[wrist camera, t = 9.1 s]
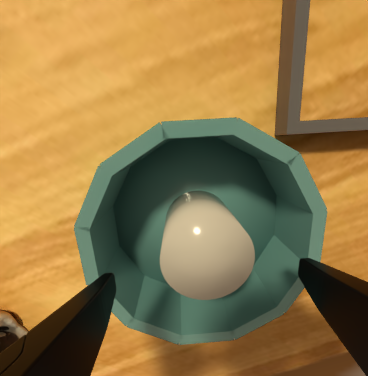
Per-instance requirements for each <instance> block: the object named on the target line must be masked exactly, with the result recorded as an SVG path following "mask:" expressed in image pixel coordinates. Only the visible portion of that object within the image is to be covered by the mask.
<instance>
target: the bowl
mask: <svg viewBox="0 0 368 376" xmlns="http://www.w3.org/2000/svg"><path fill="white" fill-rule="evenodd" d="M161 123H162V125H161V124H160V122H159V123H158V124H156V125H155V126H154V127H152V128H151V129H149V130H148V131H146V132H145V133H144V134H142V135H141V136H139V137H138V138H136V139H135V140H134V141H132V142H131V143H129V144H128V145H127V146H125V147H124V148H122V149H121V150H119V151H118V152H117V153H115V154H114V155H112V156H111V157H109V158H108V159H107V160H105V161H104V162H102V163H101V164H100V166H98V168H97V170H96V173H95V175H94V178H93V180H92V183H91V185H90V188H89V190H88V193H87V195H86V198H85V200H84V203H83V205H82V208H81V210H80V213H79V215H78V218H77V220H76V223H75V225H74V227H75V228H74V231H75V235H76V240H77V244H78V249H79V253H80V258H81V263H82V267H83V272H84V276H85V281H86V285H90V284H91V283H92V282H94V281H95V280H96V279H97V278H99V277H100V276H101V275H103V274H104V273H114V276H115V282H116V295H115V299H114V303H113V307H112V311H111V312H112V313H113V314H114V315H115V316H116V317H117V318H118V319H119V320H120V321H121V322H122V323H123V324H124V325H125V326H126V325H127V327H129V328H131V329H134V330H137V331H140V332H143V333H146V334H149V335H152V336H155V337H158V338H160V339H163V340H166V341H169V342H172V343H175V344H179V343H180V345H184V344H195V343H207V342H219V341H231V340H234V338H235V340H236V339H238V338H240V337H242V336H244V335H246V334H248V333H249V332H251V331H253V330H255V329H257V328H259V327H261V326H263V325H264V324H266V323H268V322H270V321H272V320H274V319H276V318H278V317H280V316H281V315H283V314H284V313H286V312H287V310H288V309H289V308H290V306H291V305H292V304H293V302H294V301H295V300H296V298H297V297H298V296H299V294H300V293H301V292H302V290H303V289H304V288H305V287H304V285H303V284H302V282H301V280H300V279H299V276H298V267H299V260H300V259H301V258H311V259H313V260H316V261H318V262H320V260H321V253H322V246H323V239H324V231H325V224H326V217H327V210H326V209H327V208H326V206H325V204H324V202H323V199H322V197H321V195H320V193H319V191H318V189H317V187H316V185H315V183H314V181H313V179H312V177H311V175H310V173H309V170H308V168H307V166H306V164H305V162H304V160H303V158H302V156H301V154H299V152H298V151H296V150H294V149H292V148H291V147H289V146H287V145H285V144H284V143H282V142H280V141H278V140H277V139H275V138H273V137H271V136H270V135H268V134H266V133H264V132H263V131H261V130H259V129H257V128H255V127H254V126H252V125H250V124H248V123H247V122H245V121H243V120H241V119H240V118H219V119H201V120H183V121H165V122H161ZM190 191H206V192H209V193H212V194H214V195H216V196H217V197H218V198H220V199H221V201H222V202H223V203H224V204H225V205H226V207H227V208H228V209H229V211H230V212H231V213H232V214H233V216H234V217H235V218H236V219H237V221H238V222H239V223H240V224H241V226H242V227H243V228H244V230H245V231H246V232H247V233H248V235H249V236H250V238H251V240H252V243H253V245H254V250H255V261H254V265H253V269H252V271H251V273H250V275H249V277H248V278H247V280H246V281H245V282H244V283H243V284H242V285H241V286H240V287H239V288H238V289H237V290H235V291H234V292H232V293H230V294H228V295H226V296H224V297H221V298H217V299H211V300H198V299H192V298H189V297H186V296H184V295H182V294H180V293H178V292H177V291H175V290H174V289H173V288H172V287H171V286H170V285H169V284H168V283H167V281H166V280H165V278H164V276H163V274H162V271H161V267H160V253H161V246H162V239H163V233H164V226H165V220H166V214H167V211H168V209H169V207H170V205H171V204H172V202H173V201H174V200H175V199H176V198H178V197H179V196H181V195H182V194H184V193H187V192H190ZM283 312H284V313H283Z"/></svg>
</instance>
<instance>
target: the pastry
mask: <svg viewBox="0 0 368 376" xmlns="http://www.w3.org/2000/svg"><path fill="white" fill-rule="evenodd" d="M28 332H29V331H27V330H26V329H25V328H24V327H23V326H22V325H20V324H19V323H18V322H17V321H16V320H15V319H14V317H13V316H12V315H11V314H9V313H8V312H6V311H2V310H0V353H1V352H2V351H4V350H5V349H6V348H8V347H9V346H10V345H12V344H13V343H14V342H16V341H17V340H18V339H20V338H21V337H22V336H23V335H25V334H26V335H27V333H28Z"/></svg>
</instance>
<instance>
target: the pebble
mask: <svg viewBox="0 0 368 376" xmlns="http://www.w3.org/2000/svg"><path fill="white" fill-rule="evenodd" d="M254 261H255V250H254V245H253V243H252V240H251V238H250V236H249V235H248V233H247V232H246V231H245V230H244V228H243V227H242V226H241V224H240V223H239V222H238V221H237V219H236V218H235V217H234V216H233V214H232V213H231V212H230V211H229V209H228V208H227V207H226V205H225V204H224V203H223V202H222V201H221V199H220V198H218V197H217V196H216V195H214V194H212V193H209V192H206V191H190V192H187V193H184V194H182V195H181V196H179V197H178V198H176V199H175V200H174V201H173V202H172V204H171V205H170V207H169V209H168V211H167V214H166V220H165V226H164V233H163V239H162V246H161V253H160V267H161V271H162V274H163V276H164V278H165V280H166V281H167V283H168V284H169V285H170V286H171V287H172V288H173V289H174V290H175V291H177V292H178V293H180V294H182V295H184V296H186V297H189V298H192V299H198V300H211V299H217V298H221V297H224V296H226V295H228V294H230V293H232V292H234V291H235V290H237V289H238V288H239V287H240V286H241V285H242V284H243V283H244V282H245V281H246V280H247V278H248V277H249V275H250V273H251V271H252V269H253V265H254Z"/></svg>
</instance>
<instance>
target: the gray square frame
mask: <svg viewBox="0 0 368 376" xmlns="http://www.w3.org/2000/svg"><path fill="white" fill-rule="evenodd" d="M309 8H310V0H283V7H282V24H281V41H280V58H279V75H278V92H277V108H276V125H275V135H292V134H309V133H326V132H343V131H360V130H368V117H365V118H347V119H329V120H312V121H300V110H301V99H302V87H303V76H304V65H305V53H306V42H307V31H308V19H309Z"/></svg>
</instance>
